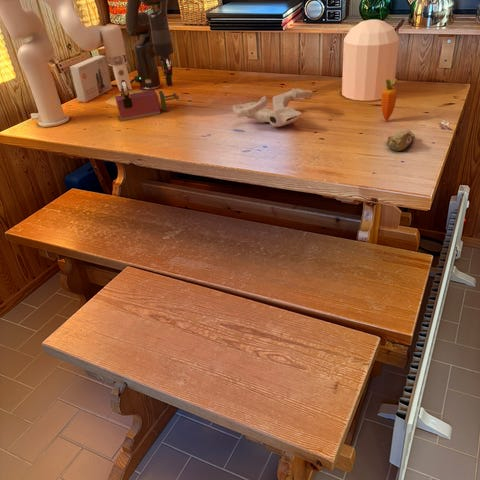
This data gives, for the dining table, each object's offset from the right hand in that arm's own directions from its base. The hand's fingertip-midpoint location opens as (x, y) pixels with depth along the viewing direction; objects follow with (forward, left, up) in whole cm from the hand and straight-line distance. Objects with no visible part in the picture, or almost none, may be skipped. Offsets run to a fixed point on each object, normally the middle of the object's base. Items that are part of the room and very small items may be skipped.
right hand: (169, 85), depth 191 cm
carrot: (+85, +20, -10) cm, 88 cm away
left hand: (-11, -15, -5) cm, 19 cm away
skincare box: (-50, -1, -10) cm, 51 cm away
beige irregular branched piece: (+52, +2, -10) cm, 53 cm away
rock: (+97, +2, -10) cm, 98 cm away
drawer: (-5, -6, -9) cm, 12 cm away
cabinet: (-8, -12, -10) cm, 17 cm away
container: (+67, +47, -10) cm, 82 cm away
